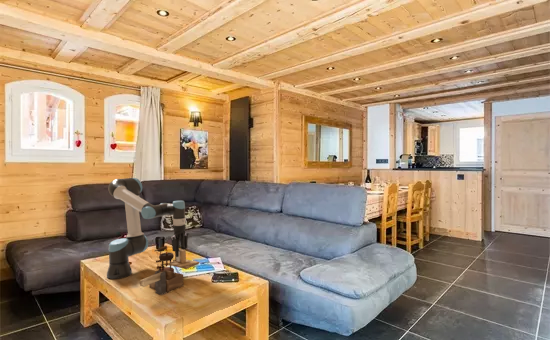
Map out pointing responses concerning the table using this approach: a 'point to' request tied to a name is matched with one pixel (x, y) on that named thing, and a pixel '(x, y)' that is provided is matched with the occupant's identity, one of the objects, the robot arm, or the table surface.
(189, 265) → the lid
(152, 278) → the wooden stick
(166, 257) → the music box
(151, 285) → the toolbox
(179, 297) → the table surface
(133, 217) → the robot arm
